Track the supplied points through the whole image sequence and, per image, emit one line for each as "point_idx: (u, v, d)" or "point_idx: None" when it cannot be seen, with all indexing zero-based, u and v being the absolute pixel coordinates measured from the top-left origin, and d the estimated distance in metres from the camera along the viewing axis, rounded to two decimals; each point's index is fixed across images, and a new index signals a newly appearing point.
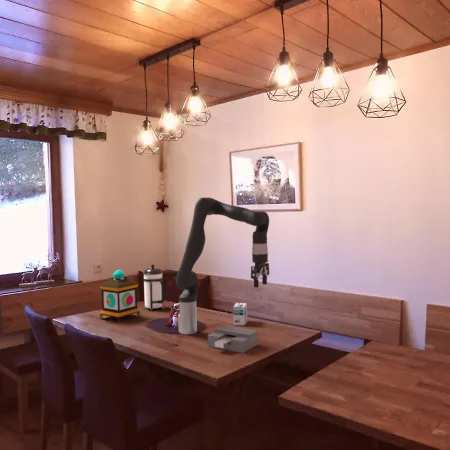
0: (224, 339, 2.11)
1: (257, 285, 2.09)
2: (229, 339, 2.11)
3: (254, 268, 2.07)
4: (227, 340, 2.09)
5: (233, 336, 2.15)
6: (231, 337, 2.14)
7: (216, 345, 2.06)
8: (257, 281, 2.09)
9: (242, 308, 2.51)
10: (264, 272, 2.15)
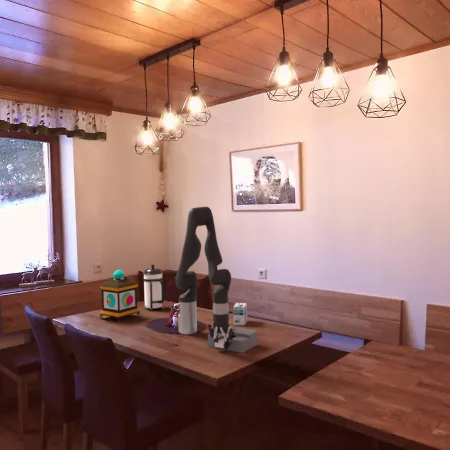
0: None
1: None
2: None
3: (233, 330, 2.04)
4: None
5: (233, 336, 2.15)
6: None
7: (216, 345, 2.06)
8: None
9: (242, 308, 2.51)
10: (218, 332, 2.09)
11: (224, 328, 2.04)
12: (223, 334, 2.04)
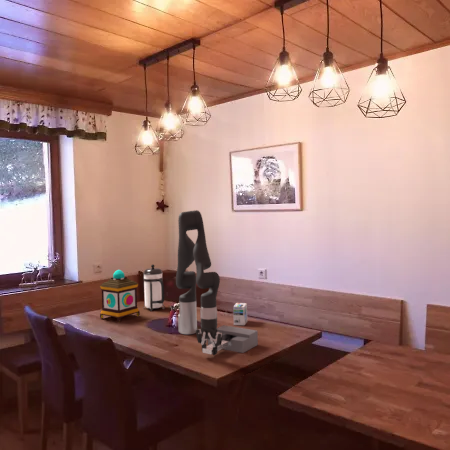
0: (212, 345, 2.02)
1: None
2: None
3: (222, 335, 1.95)
4: None
5: (222, 341, 2.07)
6: None
7: (204, 351, 1.98)
8: None
9: (242, 308, 2.51)
10: None
11: (212, 333, 1.96)
12: (211, 340, 1.96)
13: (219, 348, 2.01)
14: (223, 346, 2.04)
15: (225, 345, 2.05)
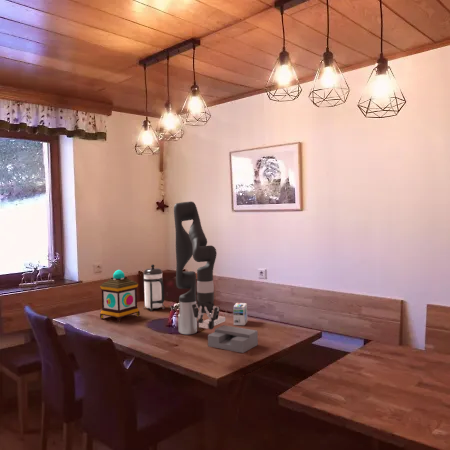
0: None
1: None
2: (214, 320, 2.00)
3: (218, 309, 1.93)
4: None
5: (219, 317, 2.05)
6: None
7: (200, 325, 1.96)
8: None
9: (242, 308, 2.51)
10: None
11: (209, 307, 1.94)
12: (208, 314, 1.94)
13: (216, 323, 1.99)
14: (220, 321, 2.02)
15: (222, 320, 2.03)
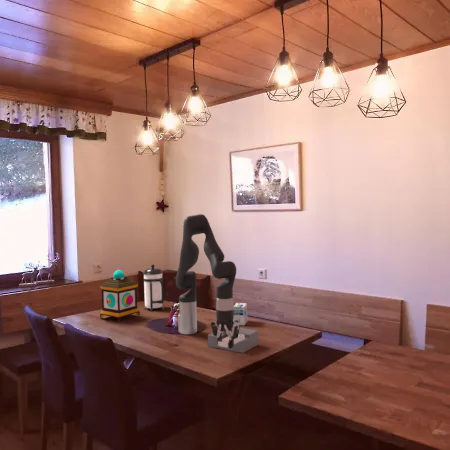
0: (228, 338, 1.94)
1: None
2: None
3: (239, 327, 1.87)
4: None
5: (238, 334, 1.98)
6: None
7: (220, 344, 1.89)
8: None
9: (242, 308, 2.51)
10: None
11: (228, 326, 1.87)
12: (227, 332, 1.87)
13: (235, 341, 1.92)
14: (239, 339, 1.95)
15: (241, 338, 1.96)
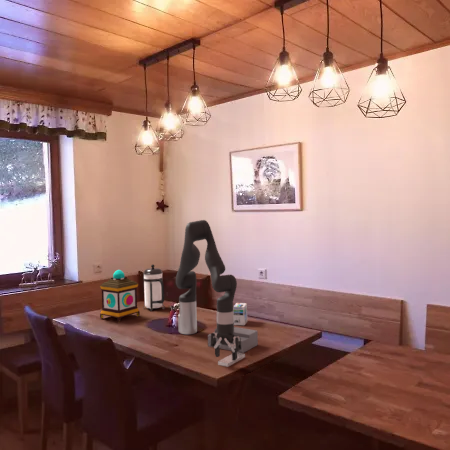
0: (228, 357, 1.94)
1: None
2: None
3: (239, 338, 1.87)
4: None
5: (238, 354, 1.99)
6: None
7: (220, 364, 1.90)
8: None
9: (242, 308, 2.51)
10: None
11: (229, 338, 1.88)
12: (229, 345, 1.87)
13: (235, 361, 1.93)
14: (239, 359, 1.95)
15: (241, 358, 1.97)
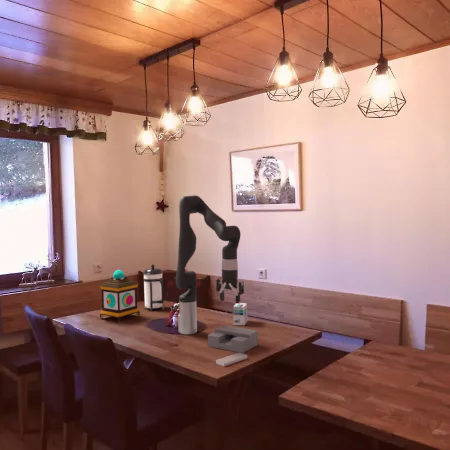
0: (228, 357, 1.94)
1: None
2: (233, 358, 1.94)
3: (242, 283, 2.05)
4: (230, 359, 1.93)
5: (240, 354, 1.98)
6: (237, 355, 1.97)
7: (217, 363, 1.91)
8: None
9: (242, 308, 2.51)
10: None
11: (233, 283, 2.06)
12: (233, 289, 2.05)
13: (234, 361, 1.92)
14: (240, 359, 1.95)
15: (242, 359, 1.96)
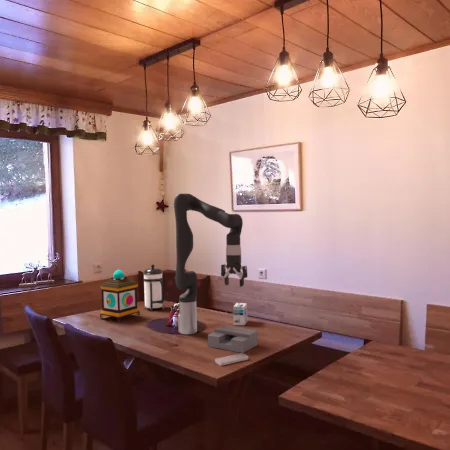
0: (228, 357, 1.95)
1: None
2: (233, 358, 1.94)
3: (246, 267, 2.18)
4: (229, 359, 1.93)
5: (242, 355, 1.97)
6: (238, 355, 1.96)
7: (216, 362, 1.93)
8: None
9: (242, 308, 2.51)
10: None
11: (237, 267, 2.19)
12: (237, 273, 2.19)
13: (233, 362, 1.92)
14: (239, 360, 1.94)
15: (243, 359, 1.95)
